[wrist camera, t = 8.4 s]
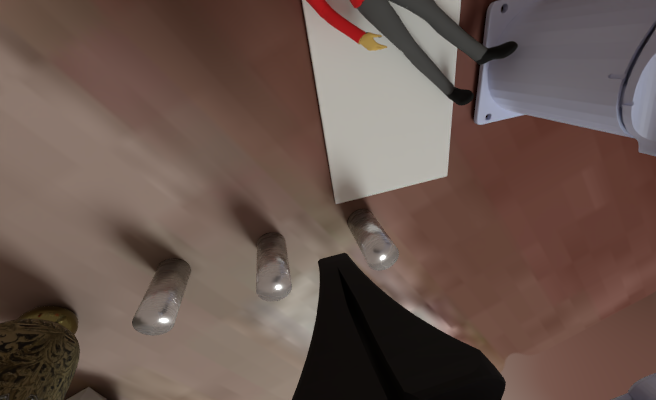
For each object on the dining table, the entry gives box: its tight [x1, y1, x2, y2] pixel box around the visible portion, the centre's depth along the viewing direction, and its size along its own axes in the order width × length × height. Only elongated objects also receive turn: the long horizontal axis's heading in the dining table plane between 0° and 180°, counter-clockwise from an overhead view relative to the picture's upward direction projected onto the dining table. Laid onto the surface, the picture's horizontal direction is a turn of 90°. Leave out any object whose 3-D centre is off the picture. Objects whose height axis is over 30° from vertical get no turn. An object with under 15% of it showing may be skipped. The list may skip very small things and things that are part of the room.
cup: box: [0, 306, 80, 400], centre depth 18 cm, size 8×7×8 cm
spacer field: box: [132, 209, 399, 335], centre depth 14 cm, size 18×27×5 cm
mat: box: [302, 0, 461, 204], centre depth 17 cm, size 10×20×1 cm, turn 9°
